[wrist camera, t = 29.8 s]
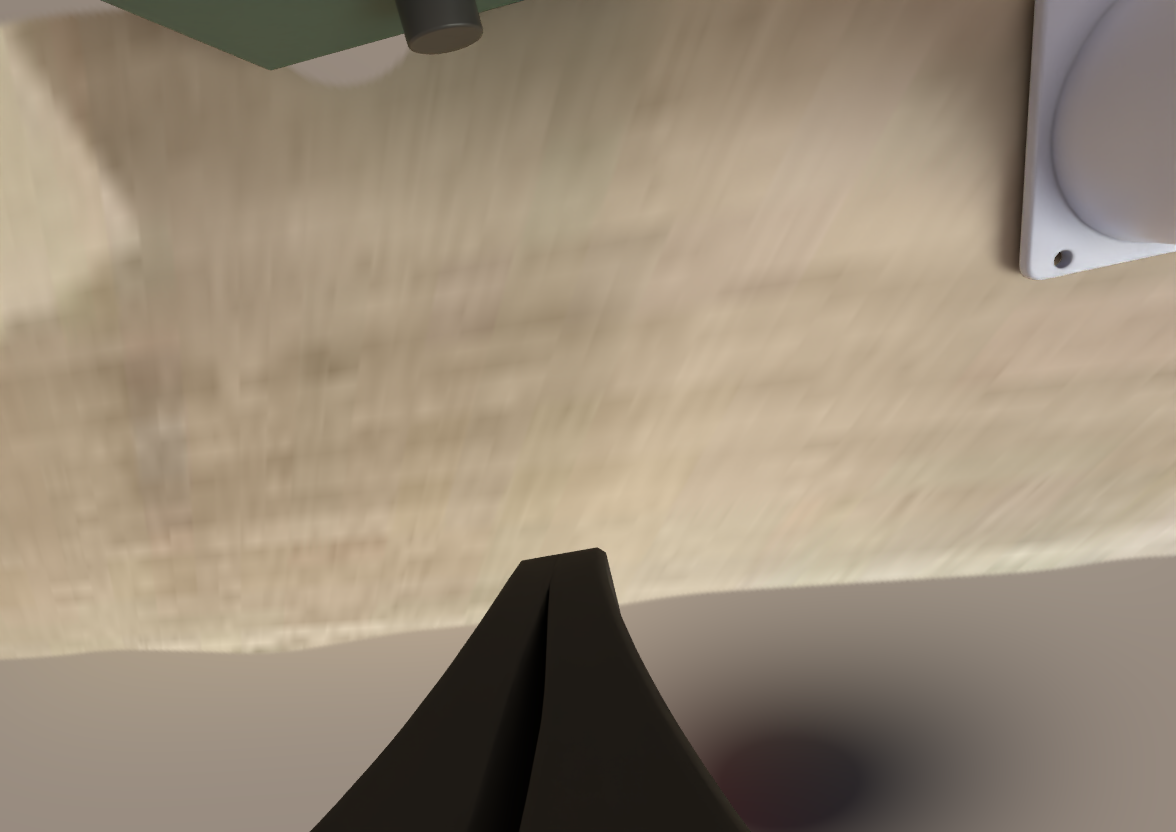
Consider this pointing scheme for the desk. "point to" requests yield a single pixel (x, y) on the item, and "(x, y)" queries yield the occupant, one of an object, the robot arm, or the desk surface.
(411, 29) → the drawer
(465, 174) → the desk surface
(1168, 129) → the robot arm
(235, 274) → the desk surface
